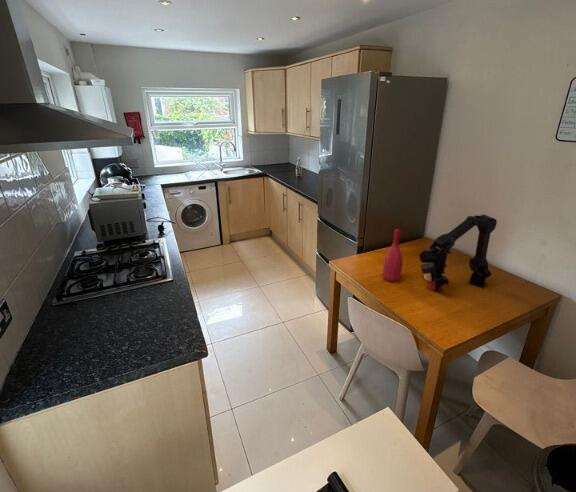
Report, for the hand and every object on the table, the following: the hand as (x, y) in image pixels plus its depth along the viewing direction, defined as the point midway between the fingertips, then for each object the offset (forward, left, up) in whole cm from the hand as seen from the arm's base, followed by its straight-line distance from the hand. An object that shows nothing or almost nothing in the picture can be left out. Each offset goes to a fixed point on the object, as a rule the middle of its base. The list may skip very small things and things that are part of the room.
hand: (434, 286), depth 162 cm
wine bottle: (+22, +5, -1) cm, 23 cm away
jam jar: (+5, -9, -1) cm, 10 cm away
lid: (0, 0, +1) cm, 1 cm away
